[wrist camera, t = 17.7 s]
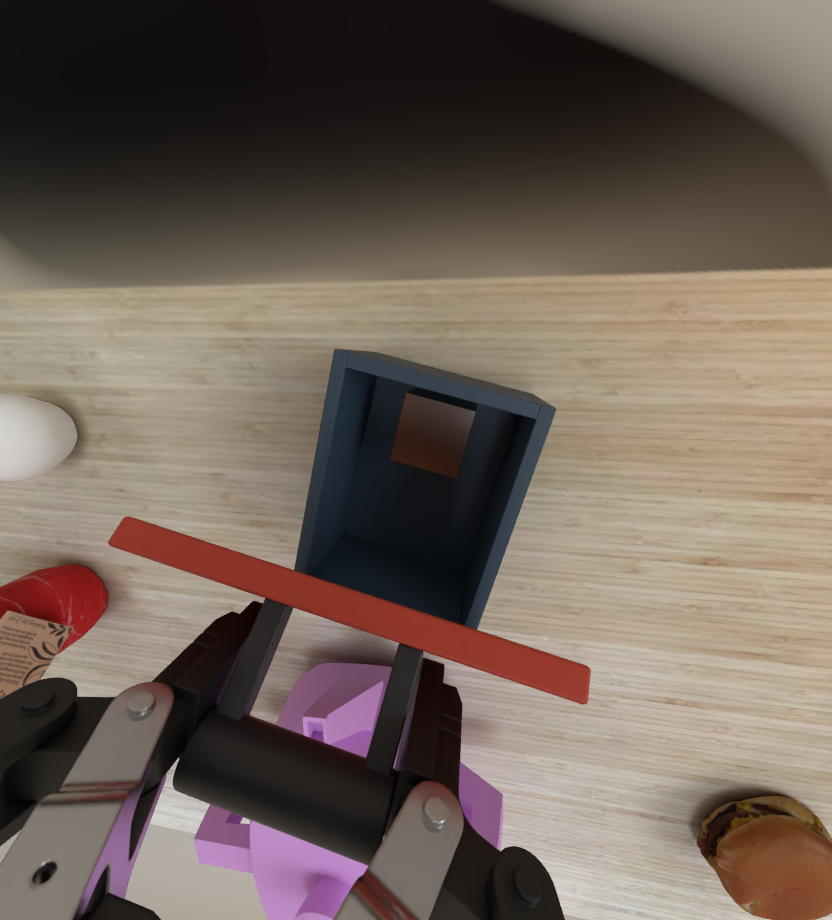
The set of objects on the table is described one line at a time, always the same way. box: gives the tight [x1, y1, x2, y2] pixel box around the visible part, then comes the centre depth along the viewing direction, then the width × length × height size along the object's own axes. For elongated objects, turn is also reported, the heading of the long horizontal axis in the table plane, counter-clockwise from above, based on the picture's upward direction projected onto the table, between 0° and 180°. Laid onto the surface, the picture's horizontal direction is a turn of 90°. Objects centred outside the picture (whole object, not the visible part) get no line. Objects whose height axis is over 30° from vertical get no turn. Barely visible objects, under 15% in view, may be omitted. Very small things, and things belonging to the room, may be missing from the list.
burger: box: [697, 796, 832, 920], centre depth 31 cm, size 10×9×5 cm
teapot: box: [194, 663, 503, 920], centre depth 30 cm, size 19×18×15 cm
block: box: [390, 387, 477, 479], centre depth 26 cm, size 4×4×4 cm
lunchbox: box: [294, 349, 556, 630], centre depth 26 cm, size 16×12×8 cm
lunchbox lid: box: [108, 517, 591, 866], centre depth 16 cm, size 16×12×5 cm
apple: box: [0, 394, 78, 481], centre depth 31 cm, size 7×7×8 cm
